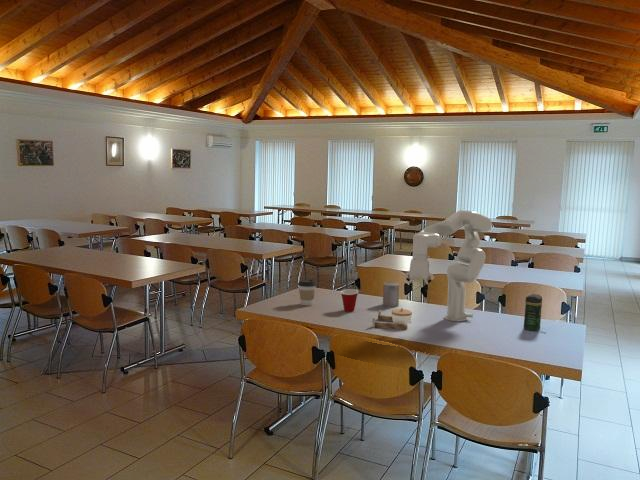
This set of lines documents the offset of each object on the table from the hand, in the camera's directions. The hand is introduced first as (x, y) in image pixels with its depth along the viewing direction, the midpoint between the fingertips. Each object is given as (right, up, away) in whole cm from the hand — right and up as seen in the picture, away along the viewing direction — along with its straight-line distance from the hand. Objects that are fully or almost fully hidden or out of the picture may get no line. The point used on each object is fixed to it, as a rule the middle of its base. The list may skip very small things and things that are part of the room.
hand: (418, 290), depth 294 cm
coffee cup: (-60, -13, +48) cm, 78 cm away
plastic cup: (-35, -15, +34) cm, 51 cm away
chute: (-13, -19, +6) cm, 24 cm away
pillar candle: (-8, -14, +49) cm, 52 cm away
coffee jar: (+61, -21, +2) cm, 64 cm away
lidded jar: (-8, -19, +5) cm, 22 cm away
